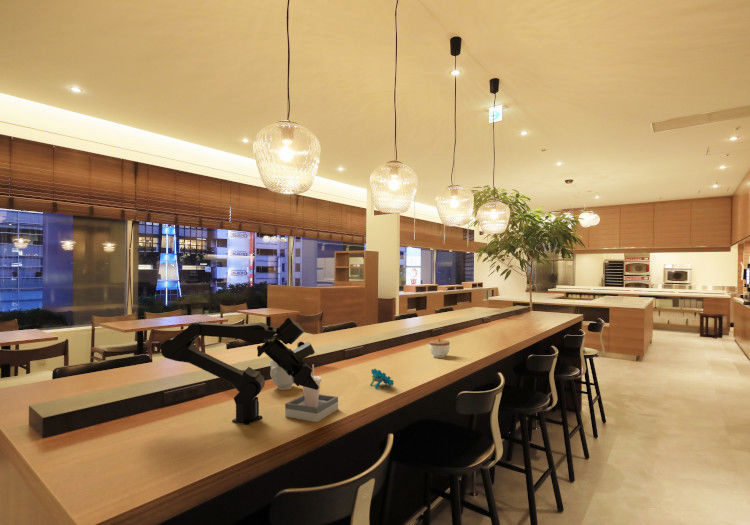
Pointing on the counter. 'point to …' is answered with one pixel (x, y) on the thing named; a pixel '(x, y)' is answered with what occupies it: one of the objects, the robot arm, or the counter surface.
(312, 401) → the smoothie
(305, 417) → the socket box
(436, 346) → the lidded jar
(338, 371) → the counter surface
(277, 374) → the teacup
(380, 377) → the blue bumpy figure
